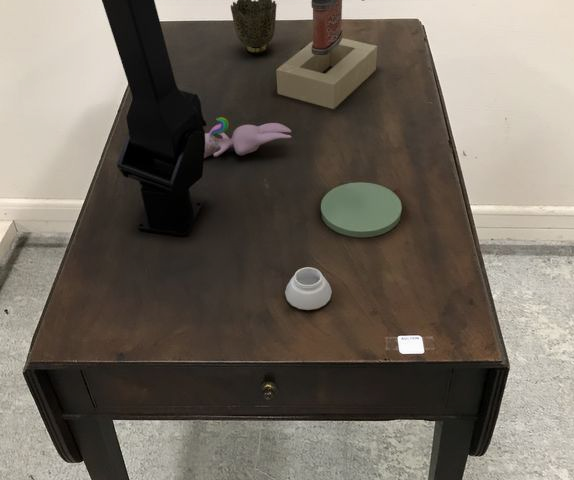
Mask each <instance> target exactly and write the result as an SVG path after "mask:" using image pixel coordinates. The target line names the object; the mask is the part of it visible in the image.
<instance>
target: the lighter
mask: <svg viewBox="0 0 574 480" xmlns="http://www.w3.org/2000/svg"><path fill="white" fill-rule="evenodd" d="M311 8H312V41H313V44H312V54H314V55H316V56H325V55H328V54H329V53H330V52H332V51H333V50H334V49H335V48H336V47H337V46H338V45H339V43H340V42H341V40H342V38H343V30H342V23H343V22H342V21H343V20H342V18H343V0H311Z"/></svg>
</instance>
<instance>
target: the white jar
mask: <svg viewBox="0 0 574 480" xmlns="http://www.w3.org/2000/svg"><path fill="white" fill-rule="evenodd" d="M332 293H333V291H332V287H331V285H330V283H329V282H328V280H327V278H326V277H325V276H324V275H323V274H322V272H321V271H320V269H317V268H314V267H310V266H307V267H302V268H299V269H297V270H296V272H295V273H294V275H293V276H292V277H291V279H290V280H289V282H288V283H287V285H286V288H285V291H284V295H285V298H286V301H287V302H288V303H289V304H290V305H291V306H292V307H295V308H297V309H299V310H305V311H306V310H307V311H310V310H317V309H320V308H322V307H324V306H326V305H327V304H328V302H329V301H330V300H331V297H332Z"/></svg>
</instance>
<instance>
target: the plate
mask: <svg viewBox="0 0 574 480" xmlns="http://www.w3.org/2000/svg"><path fill="white" fill-rule="evenodd" d="M402 205H403V204H402V202H401V199H400V197H398V195H397V194H396V193H395V192H394V191H392V190H391V189H389V188H387V187H385V186H383V185H380V184H377V183H373V182H365V181H364V182H362V181H361V182H358V181H357V182H347V183H344V184H341V185H338V186H336V187H333V188H332V189H330V190H329V191H328V192H327V193H326V194H325V195H324V196H323V198H322V199H321V202H320V216H321V219H322V221H323V222H324V224H325V225H326V226H327V227H328V228H329V229H331V230H332V231H333V232H335V233H338V234H340V235H343V236H347V237H351V238H371V237H372V238H373V237H378V236H381V235H384V234H386V233H388V232H390V231H391V230H393V229H394V228H395V227H396V226H397V225H398V224H399V222H400V220H401V218H402V209H403V206H402Z"/></svg>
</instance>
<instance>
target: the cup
mask: <svg viewBox="0 0 574 480" xmlns="http://www.w3.org/2000/svg"><path fill="white" fill-rule="evenodd" d="M277 5H278V4H277V3H276V0H237V1H236V2H235V1H233V2H232V4H231V5H230V12H231V15H232V20H233V26H234V30H235V34H236V37H237V38H238V40H239V41H240V43H242V44H243V45H244V46H245V51H246V52H247V54H248V55H251V56H261V55H264V54H265V53H266V52H267V50H268V44H269V43H270V42H271V41H272V40H273V38H274V35H275V30H276V22H277V21H276V20H277V19H276V18H277Z"/></svg>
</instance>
